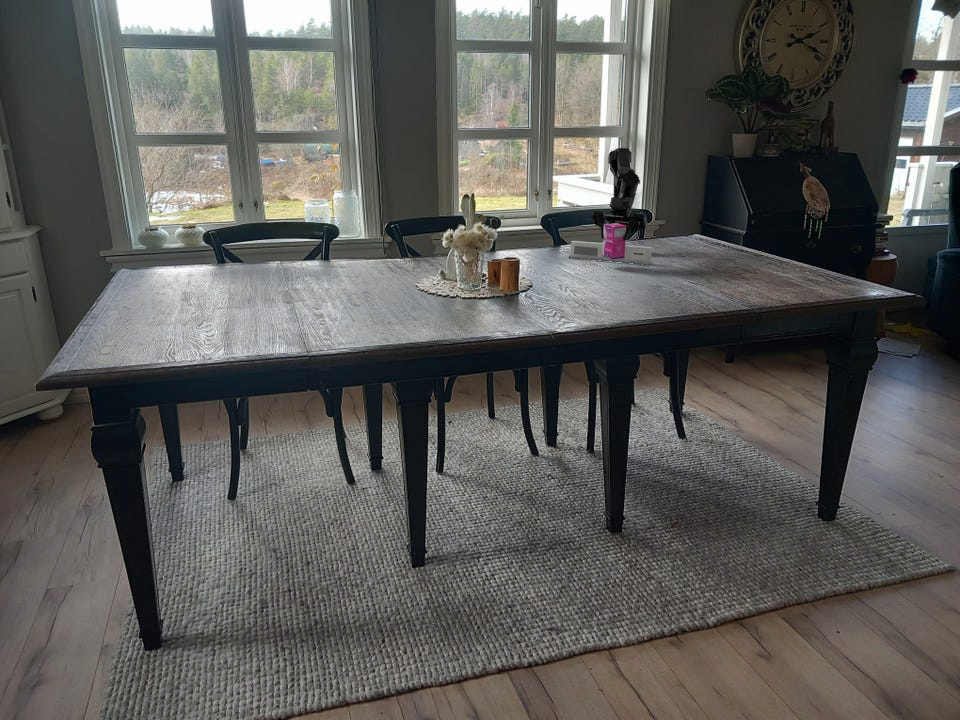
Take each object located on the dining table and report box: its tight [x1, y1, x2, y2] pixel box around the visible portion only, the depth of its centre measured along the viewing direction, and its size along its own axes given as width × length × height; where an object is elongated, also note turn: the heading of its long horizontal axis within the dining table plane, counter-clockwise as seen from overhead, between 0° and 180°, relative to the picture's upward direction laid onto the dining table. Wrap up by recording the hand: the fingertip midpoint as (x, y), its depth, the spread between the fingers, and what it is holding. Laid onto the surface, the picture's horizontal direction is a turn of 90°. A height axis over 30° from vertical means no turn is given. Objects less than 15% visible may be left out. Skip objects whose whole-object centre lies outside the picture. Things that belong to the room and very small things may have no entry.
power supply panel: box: [568, 240, 653, 266], centre depth 264 cm, size 6×30×6 cm, turn 62°
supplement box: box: [602, 223, 627, 259], centre depth 250 cm, size 6×6×12 cm
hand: (613, 239), depth 249 cm, fingers closed on supplement box, 8 cm apart
